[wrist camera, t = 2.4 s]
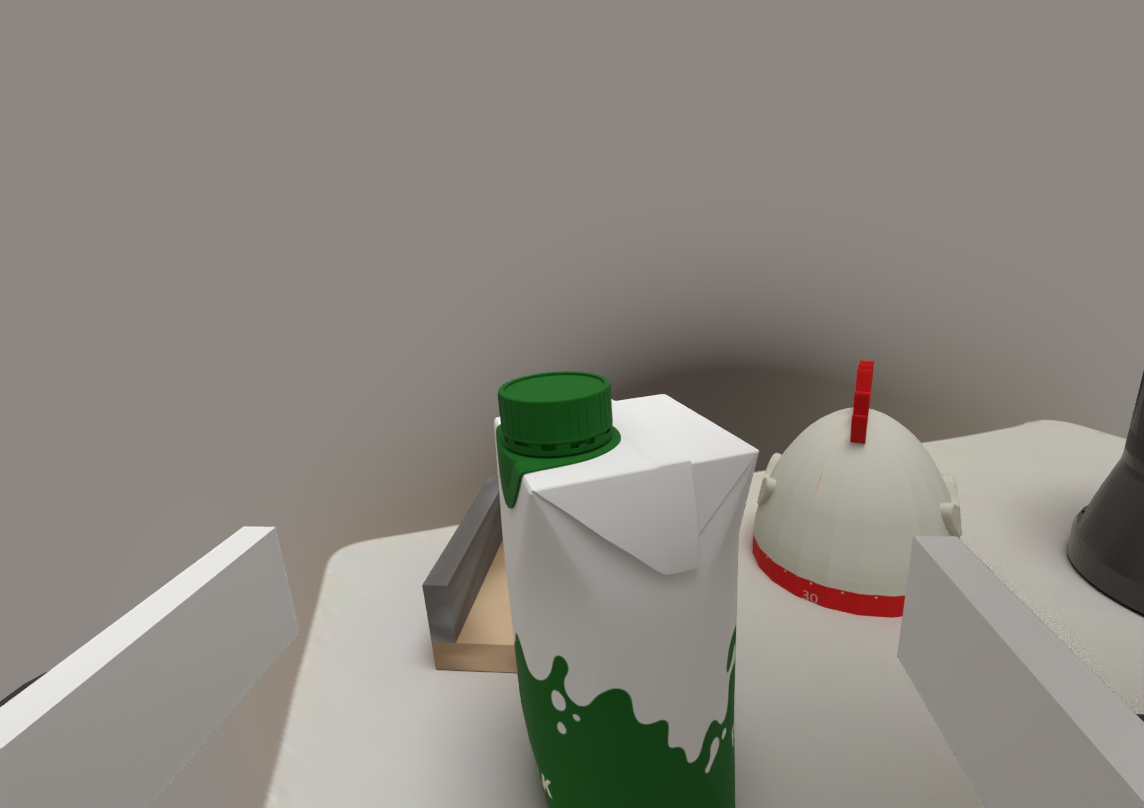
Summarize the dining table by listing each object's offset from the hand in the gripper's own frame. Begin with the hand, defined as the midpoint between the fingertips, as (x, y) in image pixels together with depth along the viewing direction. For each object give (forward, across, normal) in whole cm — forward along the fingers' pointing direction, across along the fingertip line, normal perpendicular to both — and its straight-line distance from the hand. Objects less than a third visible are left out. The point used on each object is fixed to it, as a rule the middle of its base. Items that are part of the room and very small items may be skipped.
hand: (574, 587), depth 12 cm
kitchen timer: (+30, +16, -18) cm, 39 cm away
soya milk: (+10, 0, -18) cm, 21 cm away
